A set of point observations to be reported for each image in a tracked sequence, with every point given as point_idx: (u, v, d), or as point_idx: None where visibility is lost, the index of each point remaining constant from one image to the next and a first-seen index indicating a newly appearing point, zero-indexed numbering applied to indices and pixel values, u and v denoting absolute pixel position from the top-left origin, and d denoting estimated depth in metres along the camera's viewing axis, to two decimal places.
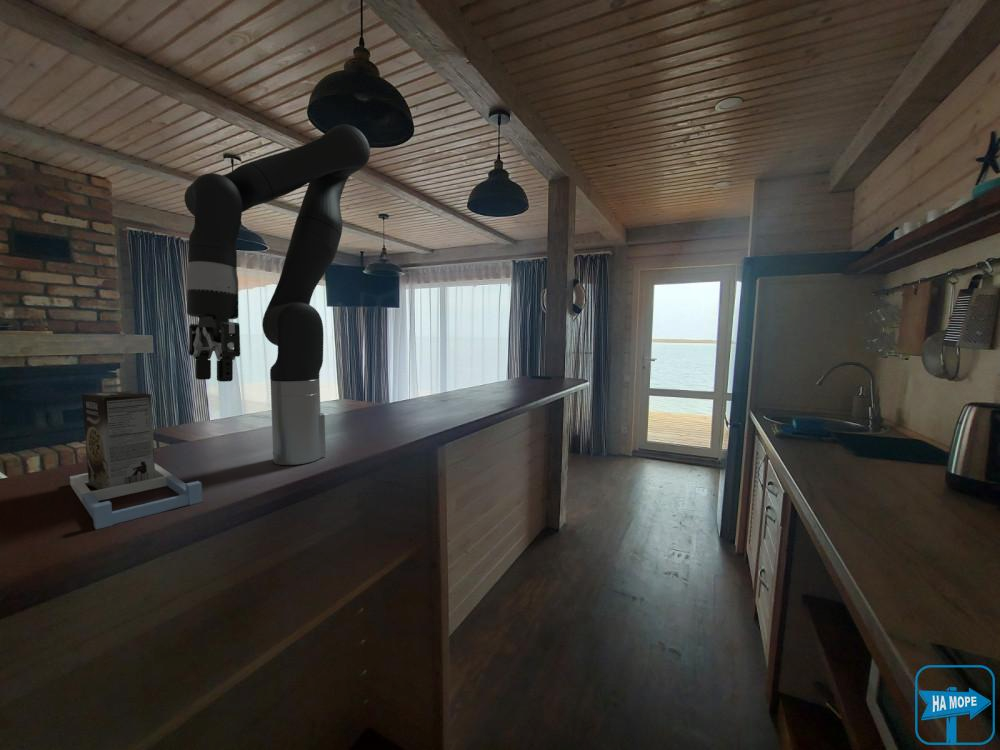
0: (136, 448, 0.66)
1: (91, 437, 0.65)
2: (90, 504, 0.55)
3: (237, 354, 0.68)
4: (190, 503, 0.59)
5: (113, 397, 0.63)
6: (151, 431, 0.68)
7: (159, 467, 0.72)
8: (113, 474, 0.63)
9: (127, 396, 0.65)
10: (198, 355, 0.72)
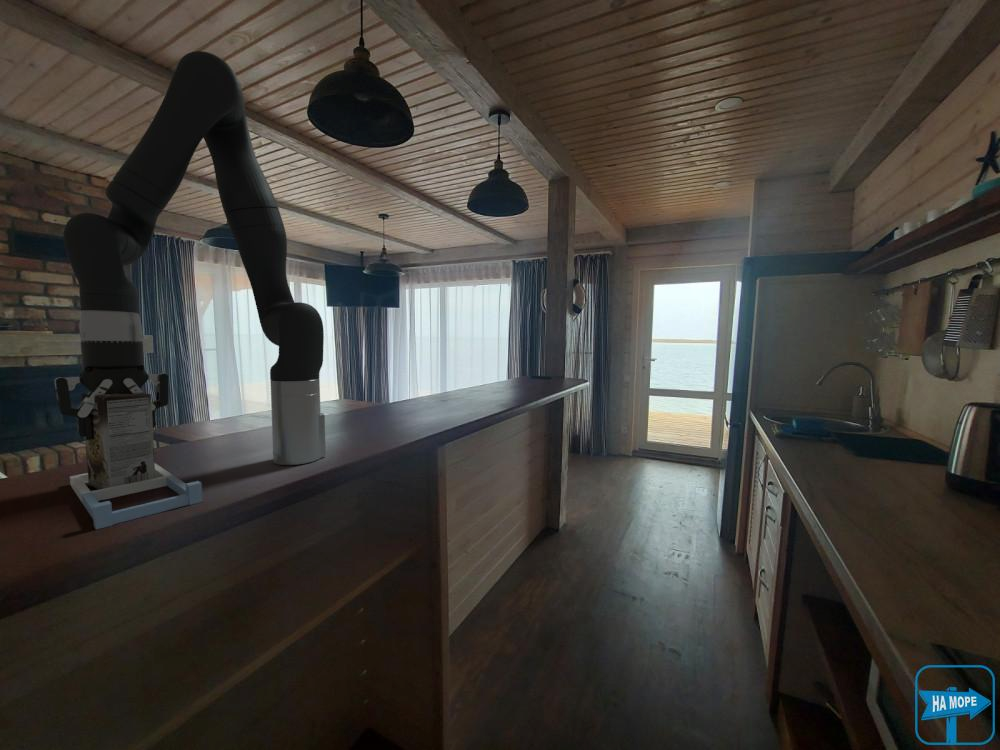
0: (136, 447, 0.66)
1: None
2: (90, 504, 0.55)
3: None
4: (190, 503, 0.59)
5: (113, 397, 0.63)
6: (151, 431, 0.68)
7: (159, 467, 0.72)
8: (113, 474, 0.63)
9: (127, 396, 0.65)
10: None
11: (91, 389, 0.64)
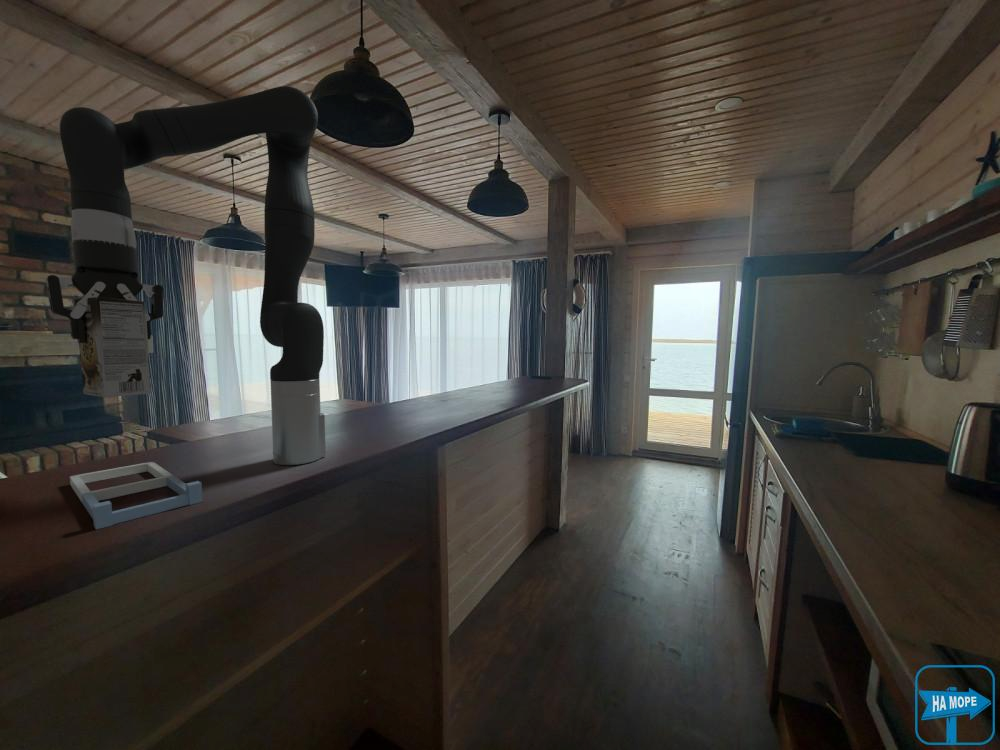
0: (130, 354, 0.65)
1: None
2: (90, 504, 0.55)
3: None
4: (190, 503, 0.59)
5: (106, 298, 0.62)
6: (146, 339, 0.67)
7: (159, 467, 0.72)
8: (107, 377, 0.62)
9: (120, 299, 0.63)
10: None
11: (84, 291, 0.62)
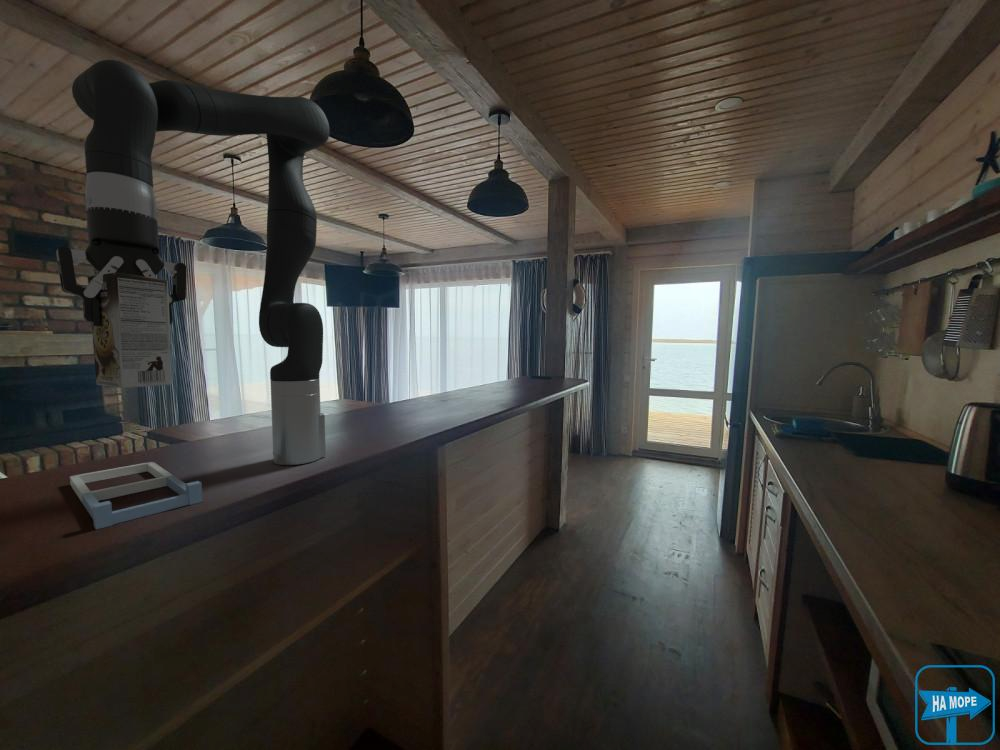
0: (151, 339, 0.57)
1: None
2: (90, 504, 0.55)
3: None
4: (190, 503, 0.59)
5: (125, 274, 0.54)
6: (168, 323, 0.59)
7: (159, 467, 0.72)
8: (125, 365, 0.55)
9: (140, 277, 0.56)
10: None
11: (99, 266, 0.55)
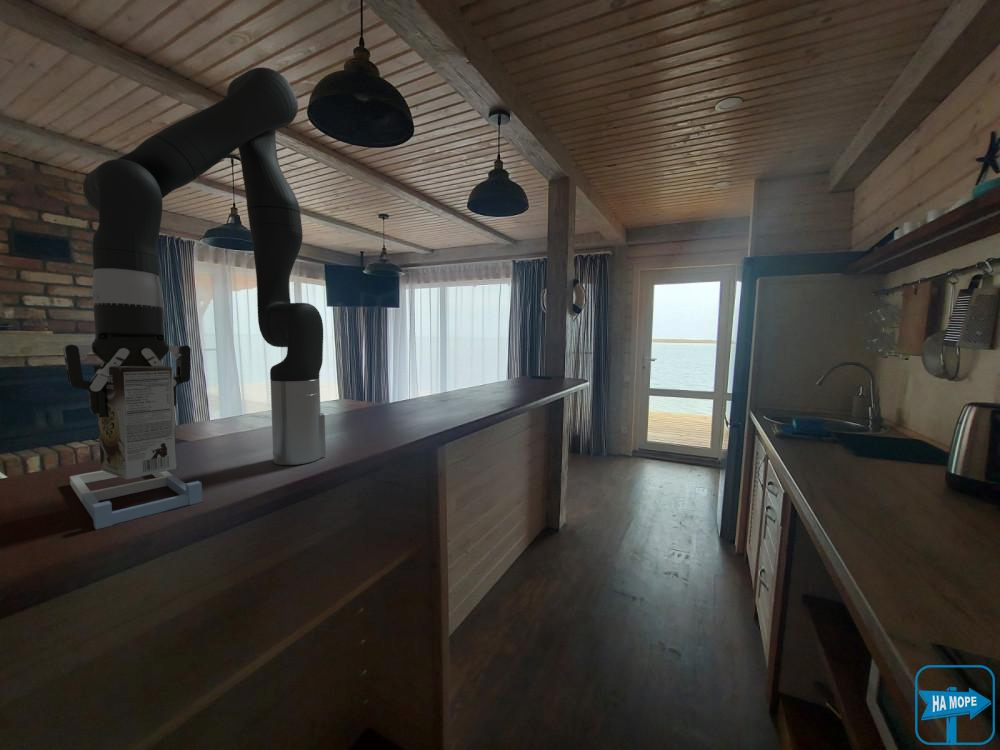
0: (155, 427, 0.58)
1: None
2: (90, 504, 0.55)
3: None
4: (190, 503, 0.59)
5: (130, 368, 0.55)
6: (172, 409, 0.60)
7: None
8: (130, 457, 0.55)
9: (146, 368, 0.57)
10: None
11: (105, 359, 0.56)
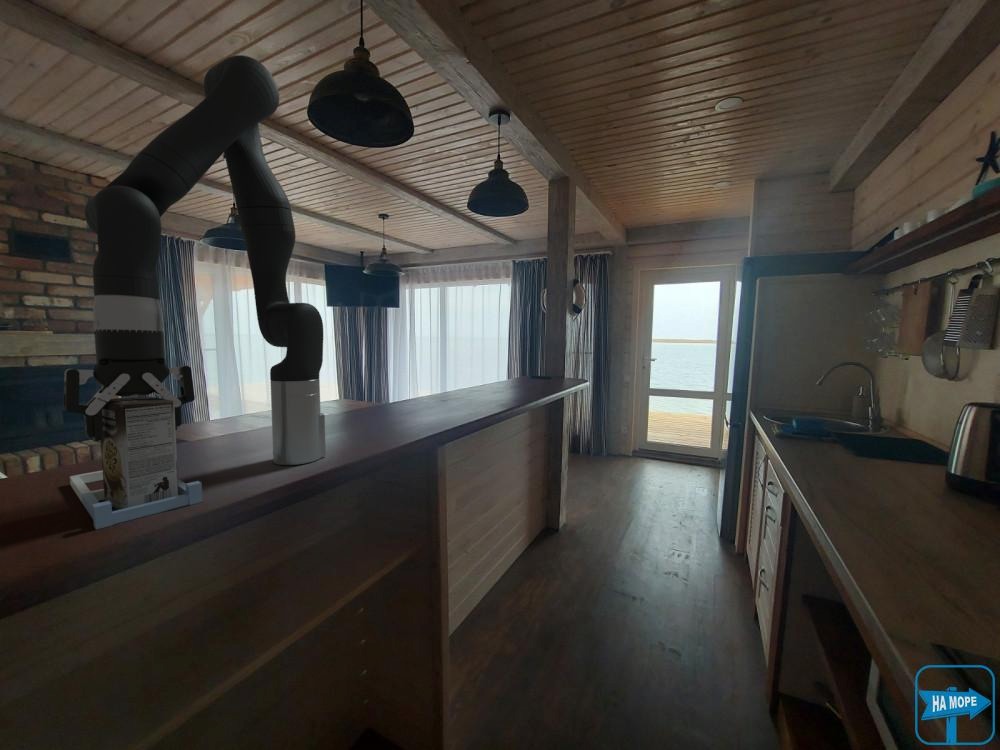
0: (157, 461, 0.58)
1: (107, 449, 0.57)
2: (90, 504, 0.55)
3: None
4: (190, 503, 0.59)
5: (132, 404, 0.55)
6: (174, 442, 0.60)
7: None
8: (132, 492, 0.56)
9: (148, 403, 0.57)
10: None
11: (105, 383, 0.56)
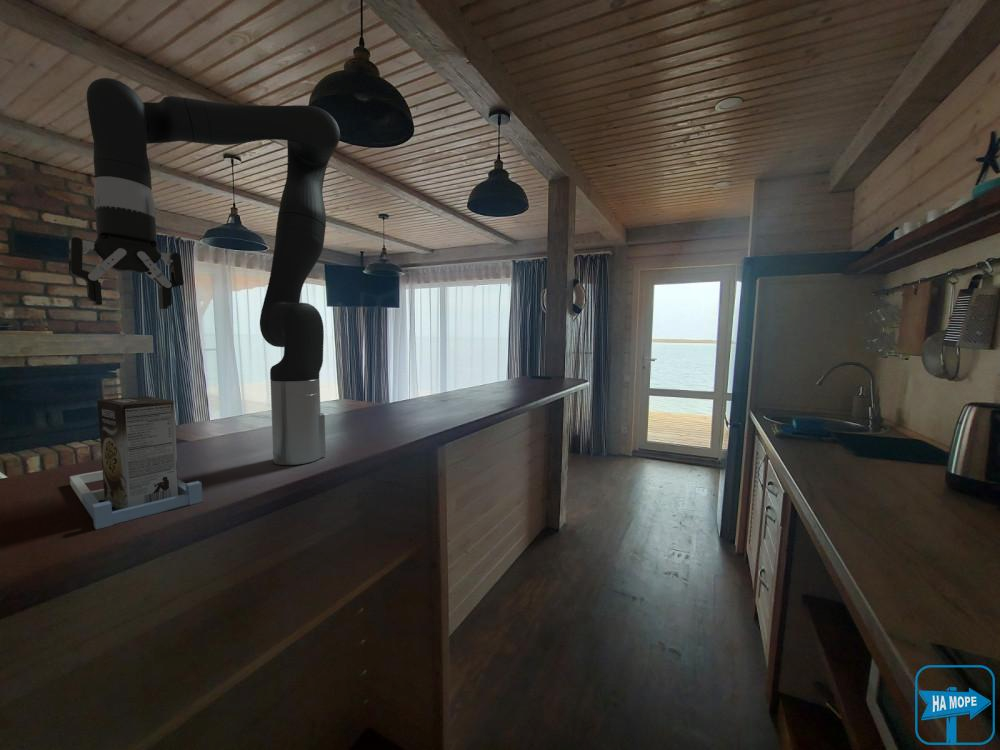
0: (157, 461, 0.58)
1: (107, 449, 0.57)
2: (90, 504, 0.55)
3: None
4: (190, 503, 0.59)
5: (132, 404, 0.55)
6: (174, 442, 0.60)
7: None
8: (132, 492, 0.56)
9: (148, 403, 0.57)
10: None
11: (105, 255, 0.64)
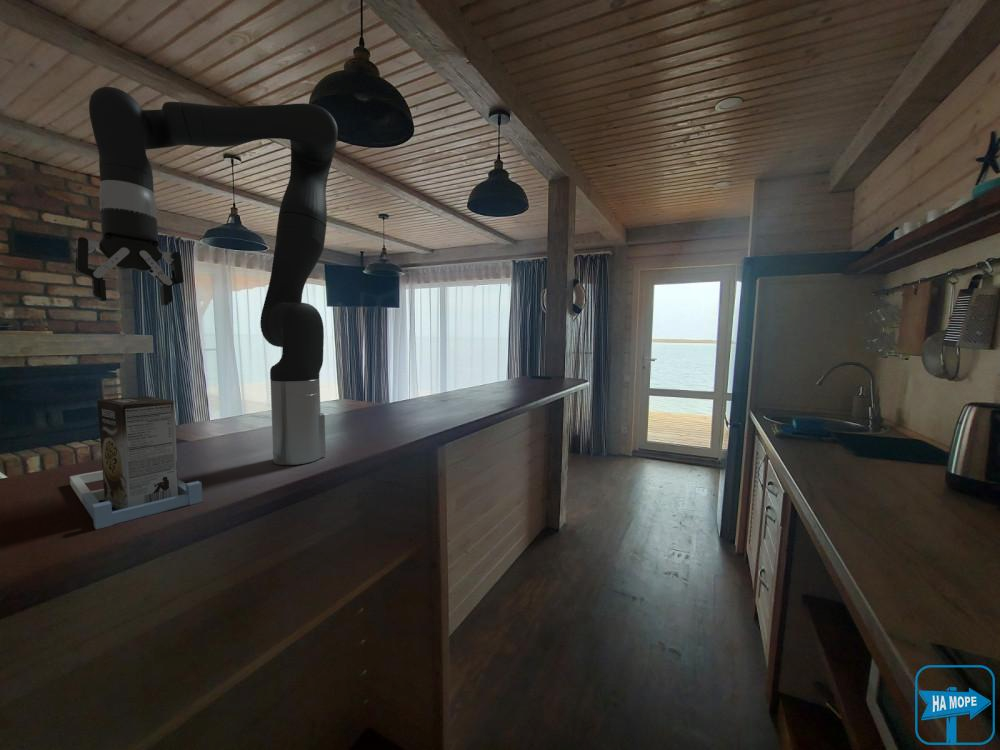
0: (157, 461, 0.58)
1: (107, 449, 0.57)
2: (90, 504, 0.55)
3: None
4: (190, 503, 0.59)
5: (132, 404, 0.55)
6: (174, 442, 0.60)
7: None
8: (132, 492, 0.56)
9: (148, 403, 0.57)
10: None
11: (109, 254, 0.68)
